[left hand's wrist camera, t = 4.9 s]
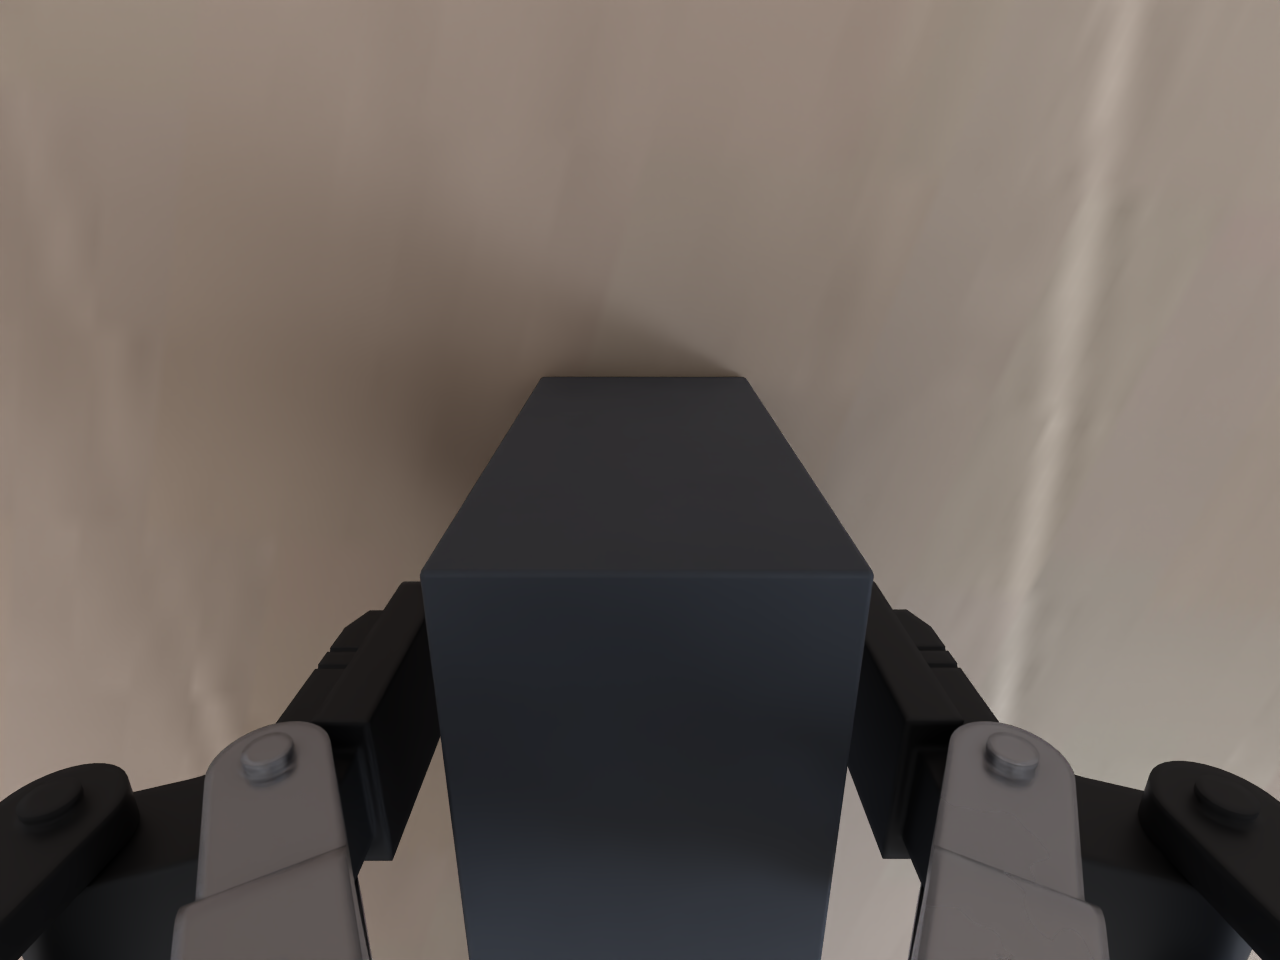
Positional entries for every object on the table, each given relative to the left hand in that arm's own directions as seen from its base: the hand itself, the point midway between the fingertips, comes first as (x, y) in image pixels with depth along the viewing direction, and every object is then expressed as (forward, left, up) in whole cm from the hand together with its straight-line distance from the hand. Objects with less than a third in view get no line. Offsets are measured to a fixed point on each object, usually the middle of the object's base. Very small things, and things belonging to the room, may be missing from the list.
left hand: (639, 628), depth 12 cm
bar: (+9, +2, -5) cm, 10 cm away
